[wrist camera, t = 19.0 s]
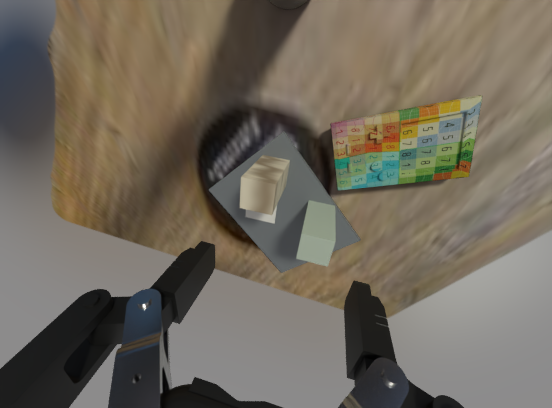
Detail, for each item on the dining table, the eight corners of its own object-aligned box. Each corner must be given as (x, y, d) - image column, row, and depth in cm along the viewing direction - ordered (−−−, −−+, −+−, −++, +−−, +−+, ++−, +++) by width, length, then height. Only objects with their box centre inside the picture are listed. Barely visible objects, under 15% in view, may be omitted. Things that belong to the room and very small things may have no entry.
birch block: (260, 180, 47) (239, 207, 36) (262, 154, 44) (241, 177, 34) (285, 185, 46) (271, 215, 36) (289, 160, 43) (276, 184, 33)
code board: (209, 188, 51) (208, 190, 51) (284, 131, 41) (283, 131, 41) (281, 271, 59) (281, 273, 58) (360, 238, 49) (360, 241, 48)
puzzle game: (330, 125, 35) (486, 96, 29) (330, 121, 39) (468, 94, 33) (337, 192, 40) (472, 179, 34) (337, 182, 44) (457, 168, 38)
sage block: (304, 221, 49) (296, 258, 39) (308, 200, 46) (301, 233, 36) (329, 227, 48) (327, 266, 38) (335, 205, 46) (335, 241, 35)
